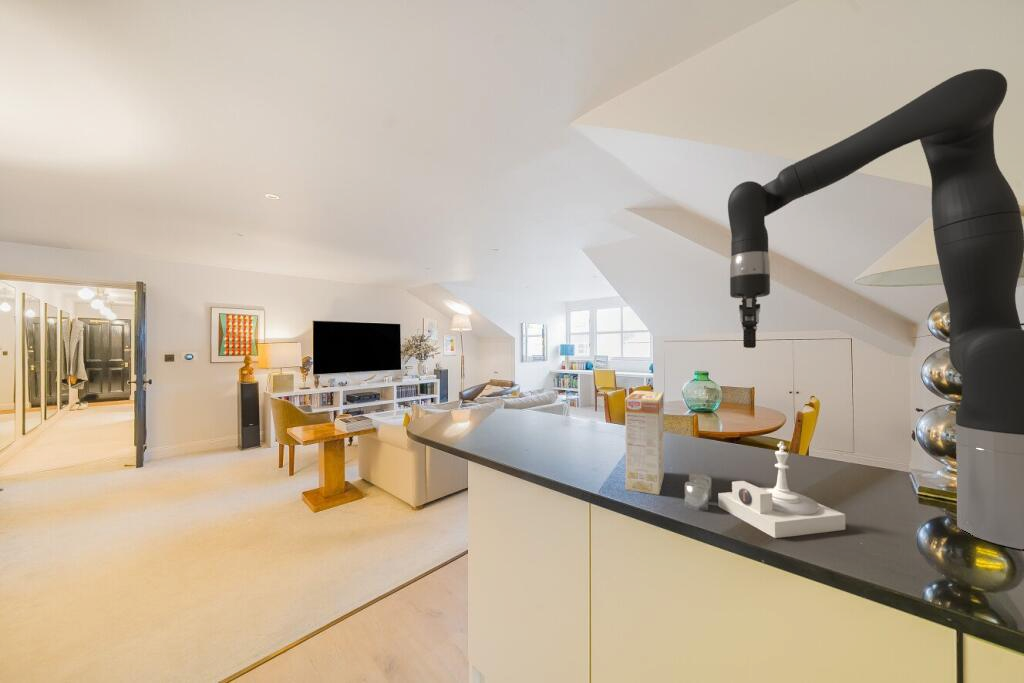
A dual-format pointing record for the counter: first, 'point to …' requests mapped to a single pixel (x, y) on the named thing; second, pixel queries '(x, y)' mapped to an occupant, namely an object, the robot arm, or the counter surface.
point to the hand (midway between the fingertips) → (749, 347)
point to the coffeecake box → (644, 441)
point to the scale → (779, 512)
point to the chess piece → (782, 479)
